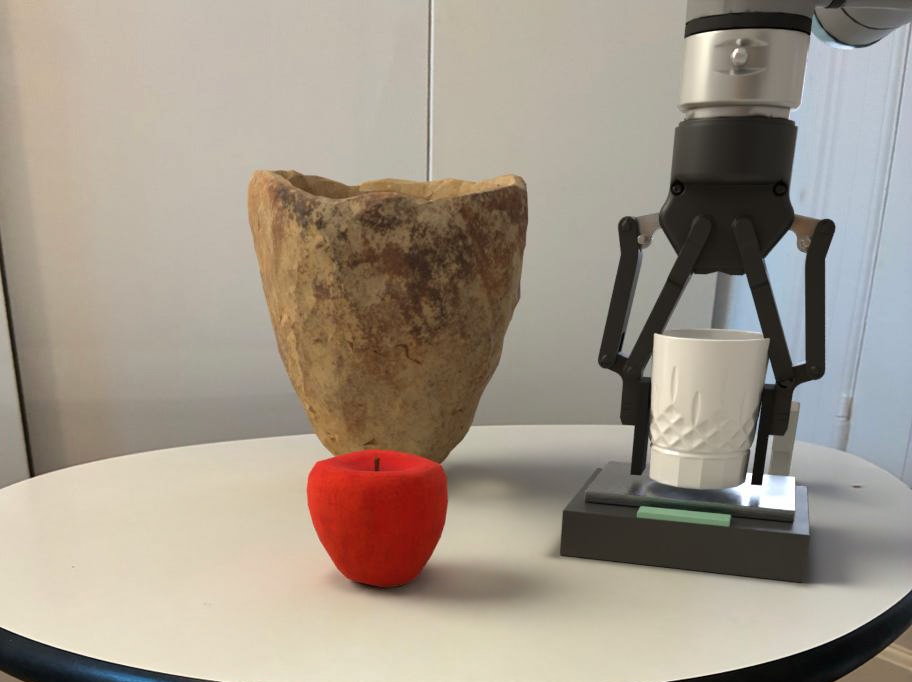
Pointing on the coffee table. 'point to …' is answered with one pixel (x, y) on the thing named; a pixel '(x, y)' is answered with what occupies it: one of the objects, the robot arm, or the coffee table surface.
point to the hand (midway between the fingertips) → (696, 475)
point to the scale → (688, 538)
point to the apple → (378, 513)
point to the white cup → (705, 405)
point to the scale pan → (695, 494)
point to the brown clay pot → (389, 300)
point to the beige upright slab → (784, 445)
